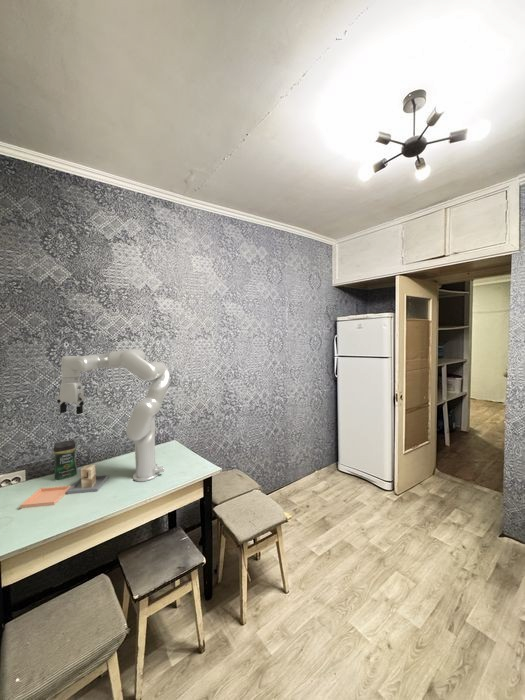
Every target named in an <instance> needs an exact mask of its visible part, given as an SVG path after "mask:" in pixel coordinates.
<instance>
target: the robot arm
mask: <svg viewBox="0 0 525 700" xmlns="http://www.w3.org/2000/svg"><path fill="white" fill-rule="evenodd" d="M61 357H62V358H61V384H60V387H59V388H60V389H59V394H58V395H55V398H56V402H57V403H58V406H59V413H60V414H63V413H66V412H67V408H68V407H67V403H71V404H73V403H74V404H76V415H81V414H83V412H84V411H83V410H84V407H83V406H84V405H85V403H86V401H87V399H88V397H86V396H85V395H84V390H83V385H82V382H81V378H80V375H81V374H80V372H87V371H91V370H96V369H102V368H103V369H104V368H111V369H118V368H125V369H126V370H128V371H129V372H130V373H132V374H133V375H135V376H136V377H138V378H139V379H141V380H143V381H146V382H149V381H152V382H151V384H150V386H149V387H148V389H147V393H146V396H145V397H144V399H142V400H140V401H139V402H137V404H135V406H134V408H133V409H132V412H131V415H130V418H129V420H128V422H127V425H126V428H125V434H126V438H128V439H129V440H130V441H133V442H134V455H135V456H134V457H135V458H134V459H135V460H134V461H135V472H134V473H133V475H132V479H133V480H134V481H135V482H147V481H151V480H153V479H155V478H157V477H158V476H159V475H160V473H164V472H165V467H163V466H158V463H156V462H157V461H156V441H155V439H156V438H155V437H156V436H155V435H156V420H155V418H154V416H155V415H156V414H158V413H159V412H160V409H161V407H162V405H163V401H164V398H165V396H166V393H167V391H168V387H169V385H170V382H171V374H170V370H169V369H168V367H167V365H165V364H164V363H163V362H160V361H153V362H148V361H147V360H145V359H146V355H145V352H144V351H143V350H141V349H139V348H131V349H124V350H123V349H122V350H114V351H110V352H106V353H98V354H97V353H96V354H90V355H89V354H88V355H81V356H78V355H64V356H61Z"/></svg>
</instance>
